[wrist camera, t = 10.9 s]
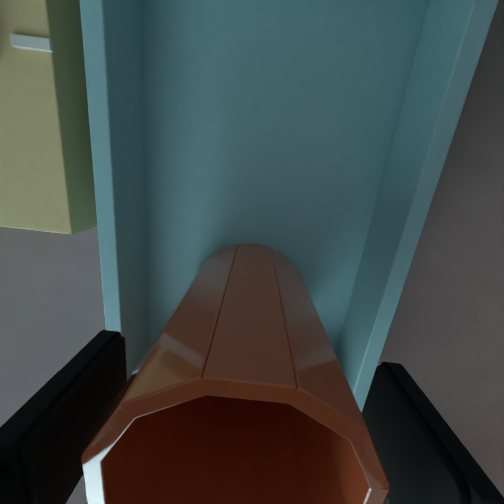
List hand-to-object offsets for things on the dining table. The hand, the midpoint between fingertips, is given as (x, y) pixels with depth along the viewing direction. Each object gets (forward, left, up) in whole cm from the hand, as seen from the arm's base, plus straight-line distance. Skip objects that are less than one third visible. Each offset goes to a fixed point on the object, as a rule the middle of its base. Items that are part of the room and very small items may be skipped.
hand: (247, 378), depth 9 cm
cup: (0, 0, -6) cm, 6 cm away
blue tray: (-6, 0, -6) cm, 8 cm away
